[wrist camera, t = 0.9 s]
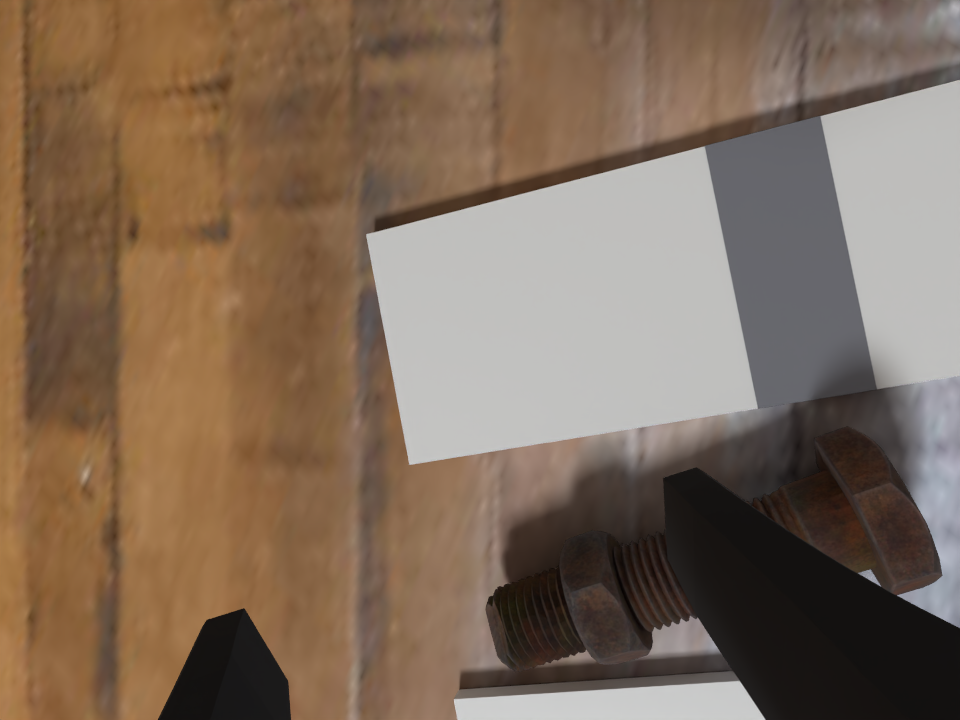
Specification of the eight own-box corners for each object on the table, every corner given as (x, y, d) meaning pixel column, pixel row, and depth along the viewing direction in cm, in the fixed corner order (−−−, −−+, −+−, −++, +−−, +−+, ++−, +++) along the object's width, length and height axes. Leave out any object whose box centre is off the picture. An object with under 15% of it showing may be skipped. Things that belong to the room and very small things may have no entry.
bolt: (514, 579, 30) (856, 460, 26) (543, 701, 27) (931, 590, 23) (454, 555, 25) (861, 405, 21) (481, 700, 22) (956, 560, 18)
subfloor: (1295, 756, 21) (1321, 773, 20) (476, 782, 28) (471, 795, 27) (1136, 40, 22) (1156, 28, 21) (373, 237, 29) (365, 234, 28)
